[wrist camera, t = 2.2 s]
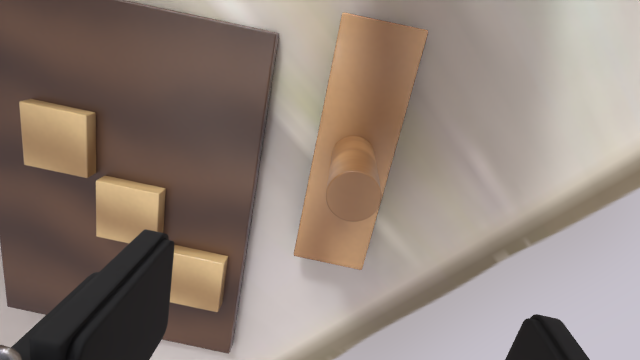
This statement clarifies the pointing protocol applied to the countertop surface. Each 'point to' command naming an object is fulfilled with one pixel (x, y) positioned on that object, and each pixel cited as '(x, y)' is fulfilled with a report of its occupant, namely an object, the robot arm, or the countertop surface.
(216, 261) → the crumb
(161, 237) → the robot arm
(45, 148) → the crumb
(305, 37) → the countertop surface
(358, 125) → the wooden knob plate
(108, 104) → the tray
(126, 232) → the crumb
